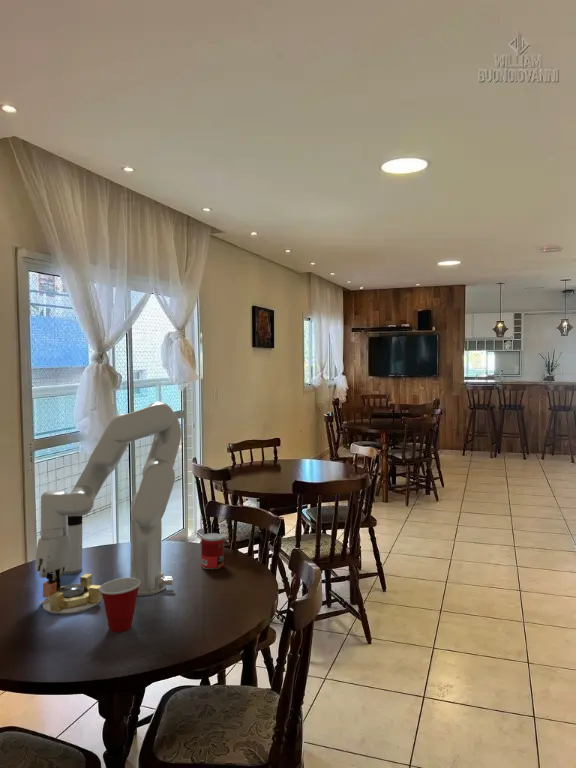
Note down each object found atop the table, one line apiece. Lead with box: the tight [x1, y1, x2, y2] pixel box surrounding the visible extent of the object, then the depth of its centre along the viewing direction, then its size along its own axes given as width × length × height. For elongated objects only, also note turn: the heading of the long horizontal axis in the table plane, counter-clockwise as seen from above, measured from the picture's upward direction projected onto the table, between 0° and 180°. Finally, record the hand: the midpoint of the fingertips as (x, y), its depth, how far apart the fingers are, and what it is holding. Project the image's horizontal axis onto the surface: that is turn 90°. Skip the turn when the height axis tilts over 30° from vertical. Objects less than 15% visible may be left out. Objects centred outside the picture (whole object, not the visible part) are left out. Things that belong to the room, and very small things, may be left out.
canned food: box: [200, 532, 225, 568], centre depth 194 cm, size 8×8×11 cm
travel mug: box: [63, 515, 84, 575], centre depth 187 cm, size 6×7×20 cm
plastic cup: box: [99, 577, 141, 633], centre depth 146 cm, size 11×11×12 cm
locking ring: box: [42, 573, 103, 612], centre depth 161 cm, size 14×14×4 cm
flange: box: [39, 583, 101, 616], centre depth 161 cm, size 16×16×4 cm
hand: (54, 591), depth 165 cm, fingers closed
